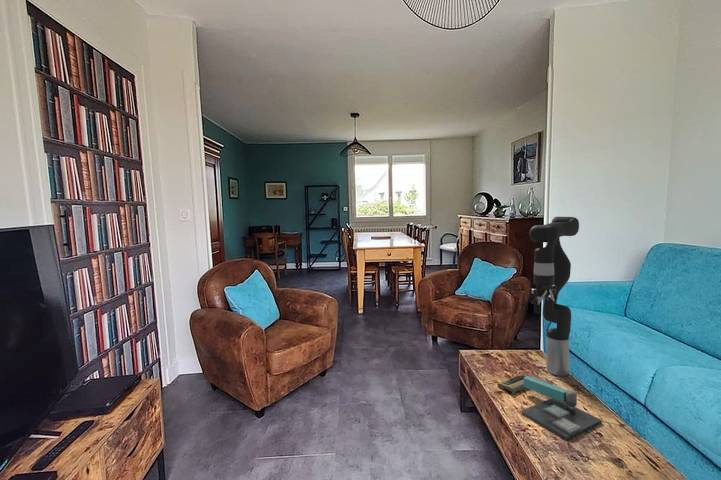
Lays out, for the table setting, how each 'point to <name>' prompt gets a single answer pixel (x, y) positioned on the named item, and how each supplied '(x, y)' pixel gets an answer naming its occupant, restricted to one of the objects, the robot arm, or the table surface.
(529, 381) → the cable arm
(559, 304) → the robot arm
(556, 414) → the board
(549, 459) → the table surface
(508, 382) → the computer
